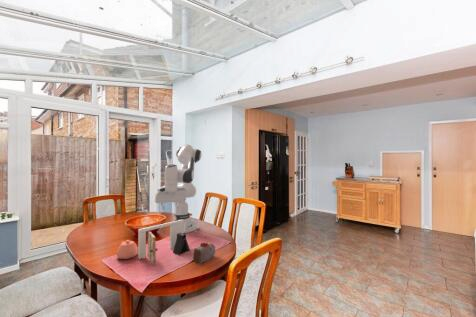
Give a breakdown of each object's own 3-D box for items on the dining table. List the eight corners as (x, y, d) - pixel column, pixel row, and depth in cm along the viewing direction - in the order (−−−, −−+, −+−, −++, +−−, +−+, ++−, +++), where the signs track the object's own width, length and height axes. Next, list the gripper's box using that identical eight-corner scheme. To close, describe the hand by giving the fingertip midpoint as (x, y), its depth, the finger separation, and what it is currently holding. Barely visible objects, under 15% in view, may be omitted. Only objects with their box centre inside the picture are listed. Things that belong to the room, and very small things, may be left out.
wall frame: (182, 244, 157) (182, 219, 157) (183, 245, 156) (183, 219, 155) (138, 258, 135) (138, 229, 135) (139, 259, 134) (139, 229, 134)
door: (145, 256, 137) (145, 231, 137) (152, 255, 139) (152, 230, 139) (150, 265, 126) (150, 238, 126) (157, 264, 128) (158, 236, 128)
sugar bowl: (123, 263, 130) (123, 245, 129) (110, 257, 137) (110, 241, 137) (142, 255, 140) (142, 239, 140) (129, 250, 147) (129, 235, 147)
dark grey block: (206, 253, 143) (206, 238, 143) (216, 256, 139) (216, 240, 139) (192, 262, 131) (192, 245, 131) (202, 265, 127) (202, 248, 127)
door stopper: (178, 255, 140) (178, 236, 140) (172, 253, 143) (172, 234, 143) (189, 250, 147) (189, 232, 147) (183, 248, 151) (183, 230, 150)
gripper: (185, 187, 157) (184, 206, 157) (154, 188, 148) (154, 209, 148) (187, 188, 152) (186, 208, 151) (155, 189, 143) (155, 210, 142)
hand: (170, 208), depth 150 cm, fingers open, 8 cm apart
